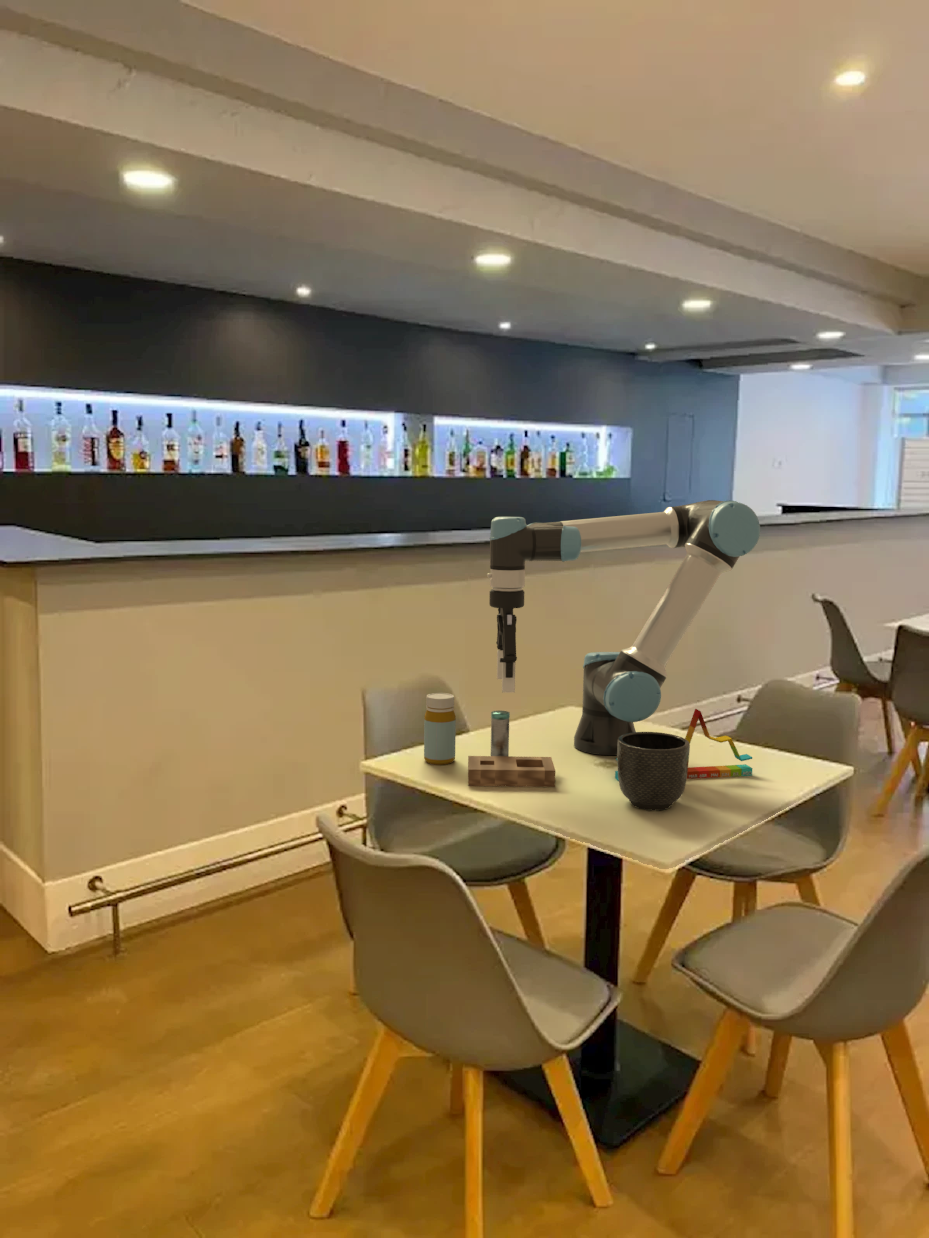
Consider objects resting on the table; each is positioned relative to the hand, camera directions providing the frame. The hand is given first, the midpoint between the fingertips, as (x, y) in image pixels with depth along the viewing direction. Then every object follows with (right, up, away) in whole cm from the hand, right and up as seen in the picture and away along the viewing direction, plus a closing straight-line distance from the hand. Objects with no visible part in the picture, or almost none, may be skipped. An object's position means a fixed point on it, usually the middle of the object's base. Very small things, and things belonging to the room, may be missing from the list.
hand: (505, 685), depth 213 cm
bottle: (-15, -18, +7) cm, 24 cm away
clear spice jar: (-1, -18, +4) cm, 19 cm away
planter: (+28, -22, -21) cm, 41 cm away
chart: (+38, -20, -2) cm, 43 cm away
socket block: (+1, -19, -6) cm, 20 cm away
